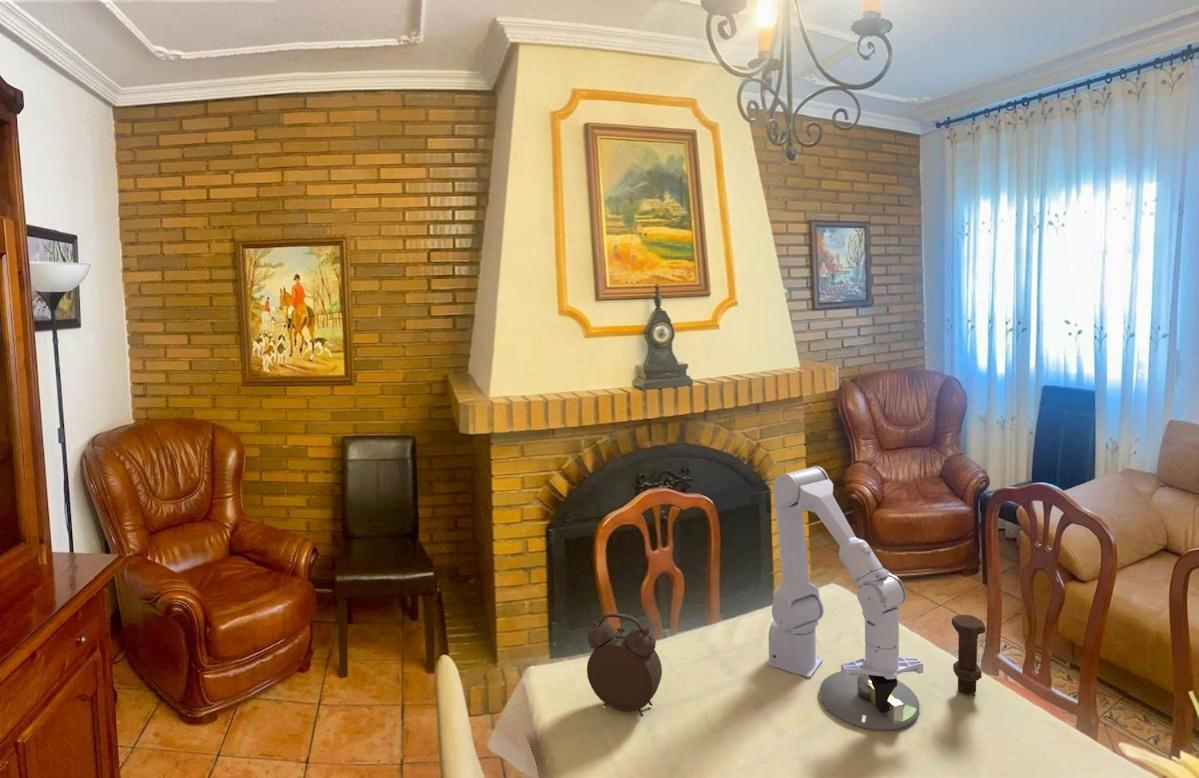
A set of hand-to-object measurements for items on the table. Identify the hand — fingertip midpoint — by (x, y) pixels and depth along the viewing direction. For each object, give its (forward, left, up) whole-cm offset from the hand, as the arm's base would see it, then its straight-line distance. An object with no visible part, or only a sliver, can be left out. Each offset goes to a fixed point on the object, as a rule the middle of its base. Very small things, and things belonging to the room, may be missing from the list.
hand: (882, 709), depth 122 cm
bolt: (+11, +18, -3) cm, 21 cm away
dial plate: (-4, +5, -2) cm, 7 cm away
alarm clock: (-43, -22, -3) cm, 48 cm away
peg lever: (-1, +3, -1) cm, 3 cm away
